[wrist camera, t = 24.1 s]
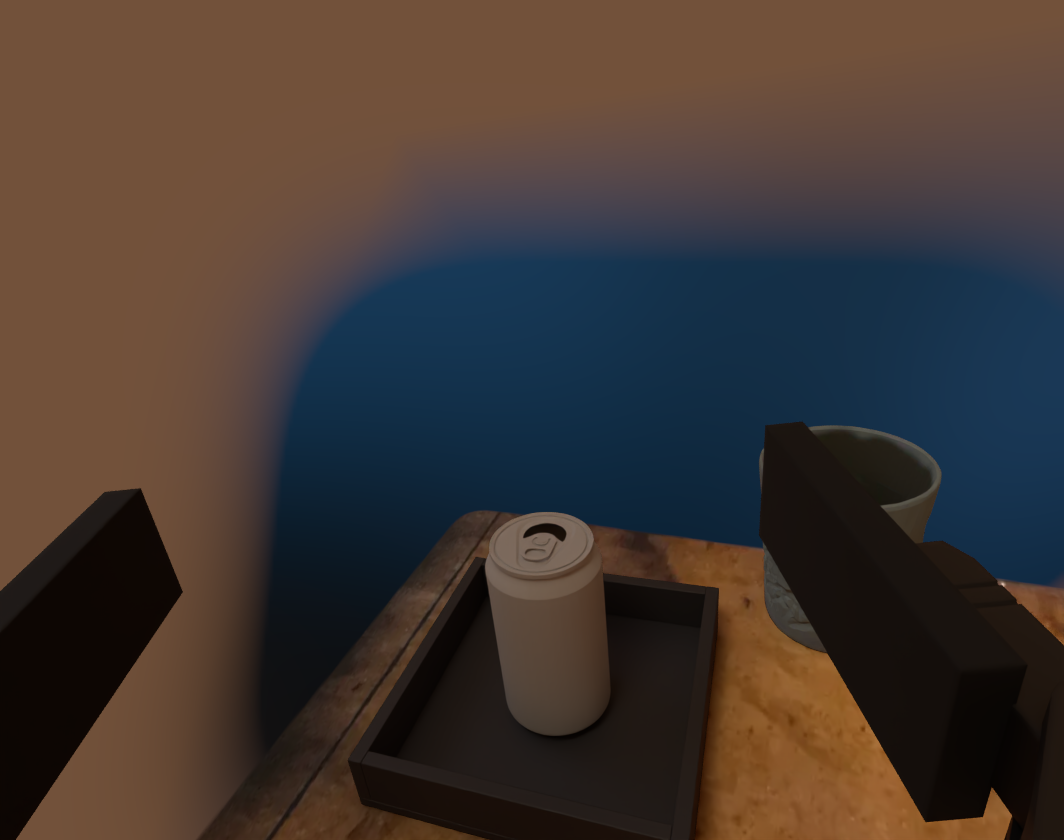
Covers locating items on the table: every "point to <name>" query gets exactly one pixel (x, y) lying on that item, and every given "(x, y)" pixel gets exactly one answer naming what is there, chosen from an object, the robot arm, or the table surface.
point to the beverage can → (550, 621)
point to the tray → (541, 760)
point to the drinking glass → (889, 477)
